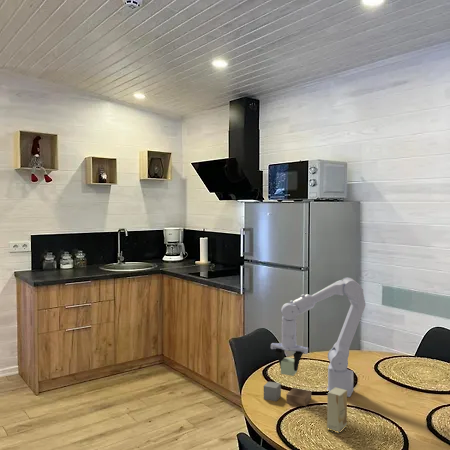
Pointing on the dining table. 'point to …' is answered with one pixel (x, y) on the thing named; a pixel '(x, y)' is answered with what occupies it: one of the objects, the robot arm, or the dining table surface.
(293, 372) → the sage cube
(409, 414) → the dining table surface
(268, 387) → the grey cube
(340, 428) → the skincare box
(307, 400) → the walnut block
